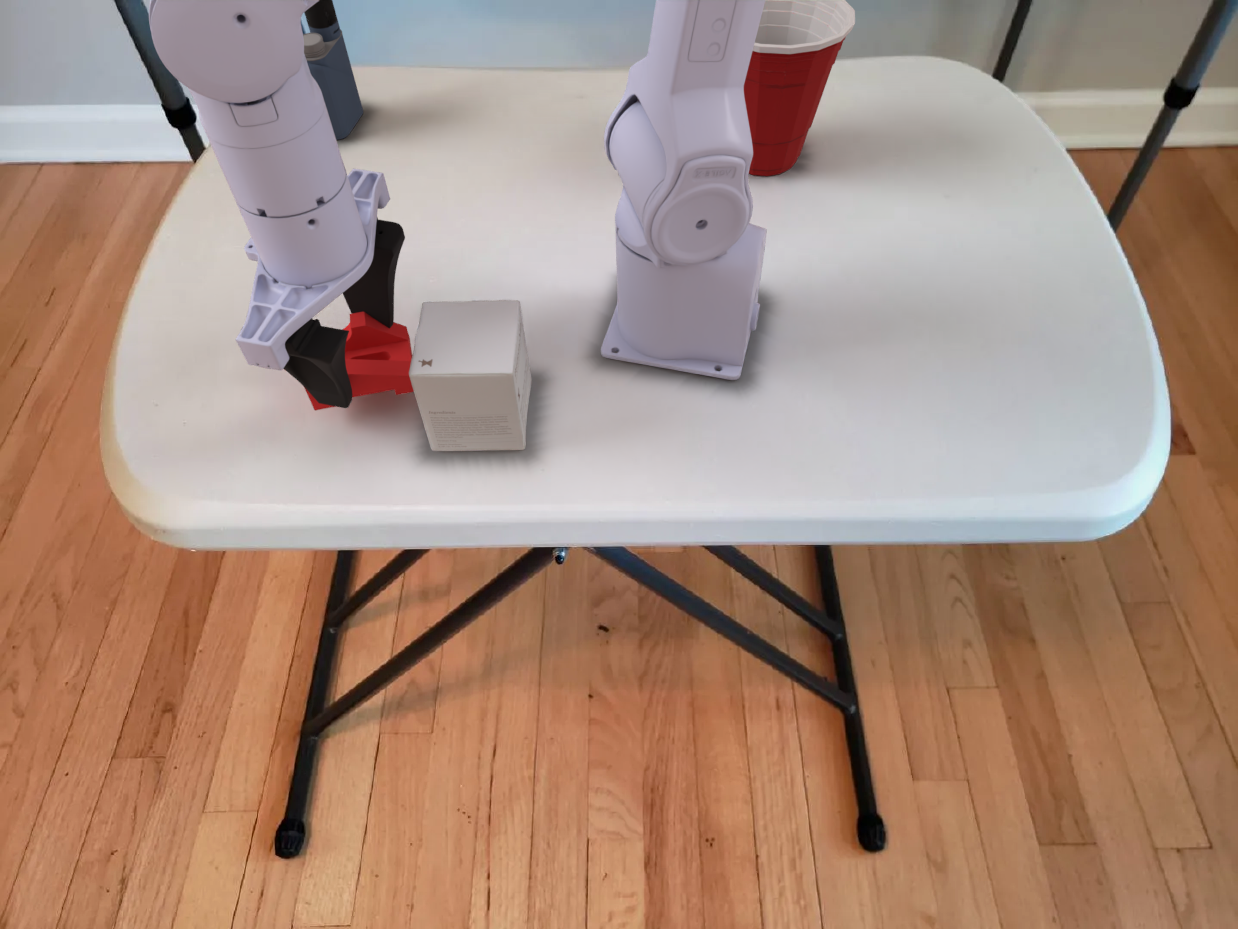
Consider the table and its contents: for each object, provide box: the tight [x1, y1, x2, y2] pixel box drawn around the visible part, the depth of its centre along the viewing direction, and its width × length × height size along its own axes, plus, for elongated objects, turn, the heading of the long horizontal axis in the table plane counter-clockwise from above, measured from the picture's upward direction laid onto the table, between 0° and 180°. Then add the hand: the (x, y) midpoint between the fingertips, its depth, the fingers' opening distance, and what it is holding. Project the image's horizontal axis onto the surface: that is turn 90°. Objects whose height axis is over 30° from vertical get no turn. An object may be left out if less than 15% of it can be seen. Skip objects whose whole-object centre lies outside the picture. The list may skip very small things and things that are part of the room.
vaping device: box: [303, 0, 364, 141], centre depth 73 cm, size 3×5×12 cm, turn 167°
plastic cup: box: [744, 0, 856, 177], centre depth 70 cm, size 11×11×12 cm
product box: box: [409, 299, 533, 452], centre depth 56 cm, size 6×6×7 cm
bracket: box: [303, 312, 414, 411], centre depth 58 cm, size 6×5×3 cm
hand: (357, 362), depth 58 cm, fingers closed on bracket, 6 cm apart
